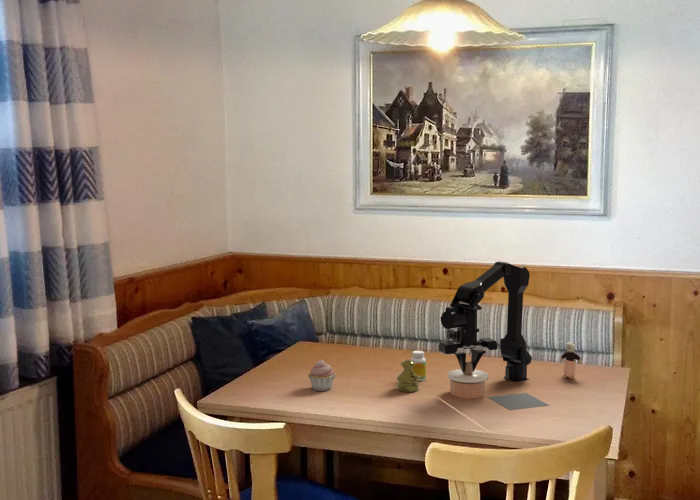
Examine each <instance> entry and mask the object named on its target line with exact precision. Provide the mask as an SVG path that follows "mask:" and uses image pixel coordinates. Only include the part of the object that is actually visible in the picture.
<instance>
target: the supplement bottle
mask: <svg viewBox="0 0 700 500" xmlns="http://www.w3.org/2000/svg"><path fill="white" fill-rule="evenodd" d="M411 356H412V357H411V358H410V360H411V361H413V362H415V366H413V368H412V370H413V372H415V374H417V375H418V376H419V380H418V381H417V382H422V381H425V380H426V379H427V360H426V357H425V352H424V351H422V350H414V351H412V355H411Z"/></svg>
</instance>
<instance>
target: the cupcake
mask: <svg viewBox="0 0 700 500" xmlns="http://www.w3.org/2000/svg"><path fill="white" fill-rule="evenodd" d="M307 375H308V379H309V381H310V384H311V388H312V390H313V391H317V392H326V391H327V392H328V391H330V390H331V389H332V386H333V381H334V379H335V377H336V373H334V370H333V368H332V367H331V365H330V364H328V363H325V361H324V360H323V359H320V360H318V361H317V362H315V364H314V365H313V366H312V368H311V369H310V373H308V374H307Z"/></svg>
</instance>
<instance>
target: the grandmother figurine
mask: <svg viewBox="0 0 700 500" xmlns="http://www.w3.org/2000/svg"><path fill="white" fill-rule="evenodd" d="M565 347H566V350H567V351H565V352H563V354H562V355H561V357H560V359H559V362H560V363H563V361H564V365H563V366H564V367H563V374H562V375H561V378H563V379H564V378H565V379H567V378H568V379H570V380H574V379H576V377H575V375H576V360H577V362H578V365H579V364H580V365H582V363H583V362H582V359H581V357H580V355H578V353H575V352H574V351H575V350H576V349H577V346H576V344H575V343H573V342H572V341H570V342H567V343H566V346H565Z"/></svg>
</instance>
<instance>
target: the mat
mask: <svg viewBox="0 0 700 500" xmlns="http://www.w3.org/2000/svg"><path fill="white" fill-rule="evenodd" d="M487 398H488V399H489V400H491V401H493V402H494V403H496V404H498V405H500V406H501V407H503V408H505V409H506V410H508V411H514V410H522V409H530V408H531V409H533V408H540V407H548V406H549V407H550V404H548V403H546V402H544V401H542V400H541V399H538V398H536V397H534V396H533V395H531V394H529V393H528V392H520V393H513V394H511V393H510V394H503V395H492V396H487Z"/></svg>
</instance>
